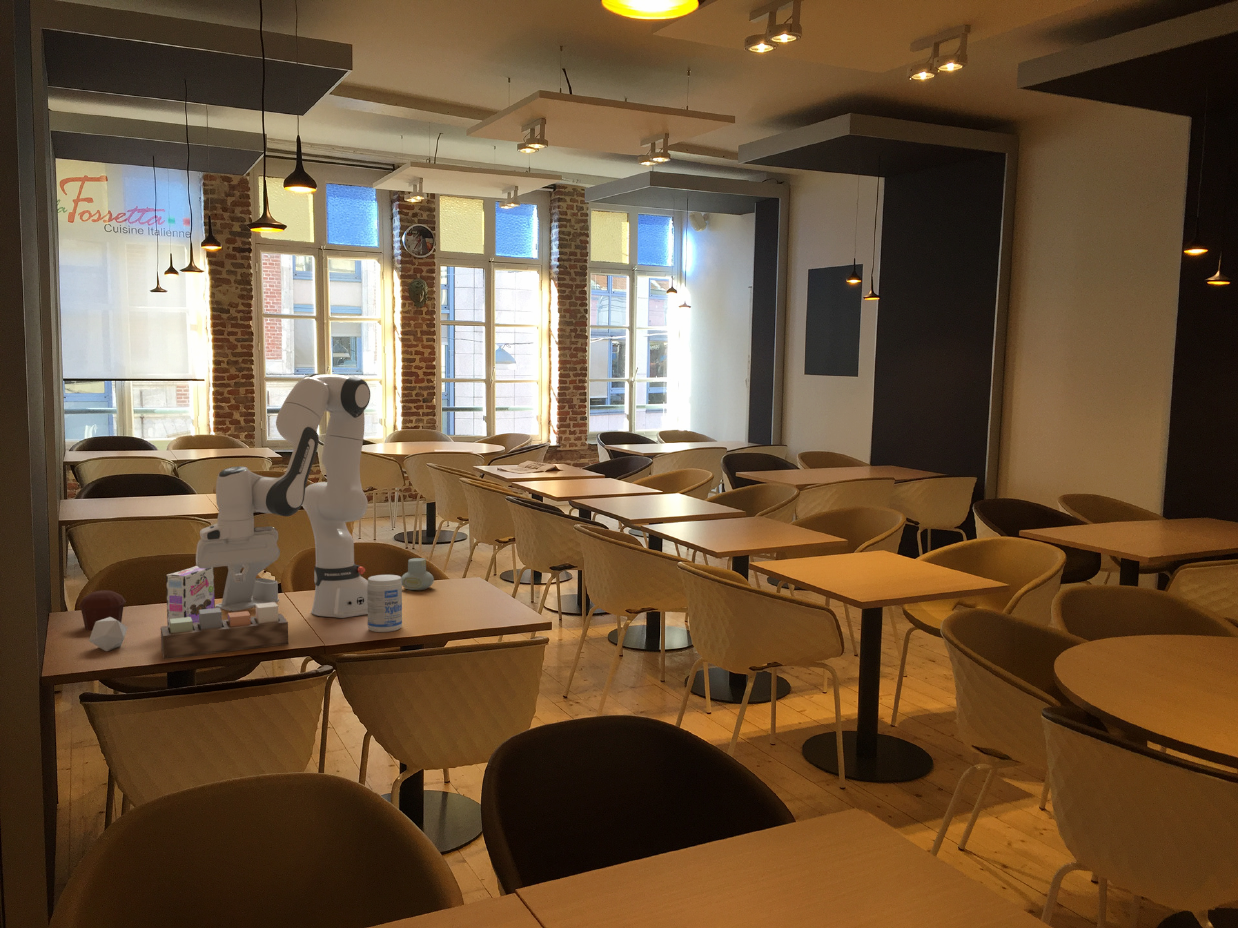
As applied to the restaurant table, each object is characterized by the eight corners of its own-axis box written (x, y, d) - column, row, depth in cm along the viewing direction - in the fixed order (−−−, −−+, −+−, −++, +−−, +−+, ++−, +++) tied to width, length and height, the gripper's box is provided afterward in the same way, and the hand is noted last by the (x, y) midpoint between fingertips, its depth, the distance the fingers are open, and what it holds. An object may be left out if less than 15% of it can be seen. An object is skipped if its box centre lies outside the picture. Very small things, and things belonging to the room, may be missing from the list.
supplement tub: (390, 634, 266) (390, 582, 264) (360, 631, 269) (360, 579, 267) (408, 625, 275) (408, 575, 274) (379, 622, 278) (378, 573, 277)
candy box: (185, 634, 264) (183, 575, 263) (166, 632, 265) (164, 574, 264) (216, 621, 278) (214, 565, 276) (198, 620, 279) (196, 564, 277)
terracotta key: (248, 629, 257) (247, 610, 257) (250, 633, 253) (250, 615, 253) (228, 631, 255) (227, 612, 255) (230, 635, 251) (230, 617, 250)
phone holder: (262, 596, 309) (261, 541, 308) (282, 600, 304) (281, 544, 302) (213, 607, 295) (211, 549, 293) (233, 611, 289) (231, 553, 288)
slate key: (219, 626, 254) (219, 607, 253) (222, 630, 250) (221, 611, 249) (199, 628, 251) (198, 609, 251) (201, 632, 247) (200, 613, 247)
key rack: (281, 634, 264) (281, 613, 264) (288, 644, 255) (287, 621, 255) (161, 649, 250) (160, 626, 249) (164, 659, 241) (163, 635, 241)
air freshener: (437, 587, 325) (437, 558, 324) (428, 592, 317) (427, 562, 316) (407, 585, 327) (406, 556, 326) (396, 590, 319) (396, 561, 318)
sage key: (191, 635, 251) (190, 616, 250) (193, 640, 246) (192, 621, 246) (170, 637, 248) (169, 618, 248) (171, 642, 244) (171, 623, 243)
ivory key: (275, 620, 261) (274, 602, 260) (278, 624, 256) (278, 605, 256) (255, 622, 258) (255, 603, 258) (258, 626, 254) (258, 608, 253)
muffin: (73, 632, 265) (71, 596, 264) (88, 621, 276) (87, 587, 275) (119, 630, 267) (117, 595, 266) (132, 620, 278) (131, 586, 277)
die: (109, 644, 256) (84, 620, 251) (137, 628, 256) (113, 604, 251) (103, 663, 249) (77, 639, 244) (132, 647, 249) (107, 622, 244)
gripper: (275, 523, 259) (278, 573, 261) (193, 531, 249) (196, 583, 251) (279, 527, 254) (282, 578, 255) (195, 534, 244) (198, 588, 246)
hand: (239, 580), depth 253 cm, fingers closed
